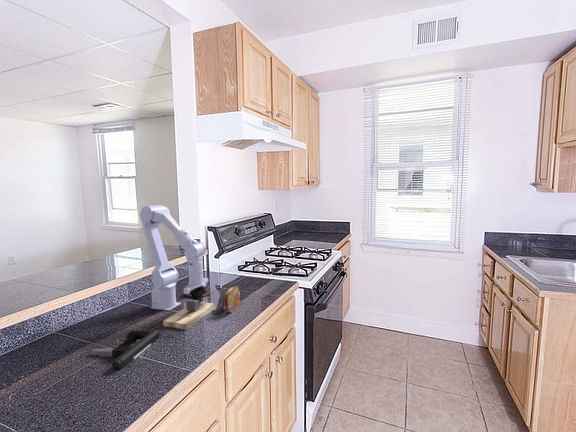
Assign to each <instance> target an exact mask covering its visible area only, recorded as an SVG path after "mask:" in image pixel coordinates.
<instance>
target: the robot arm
mask: <svg viewBox="0 0 576 432" xmlns="http://www.w3.org/2000/svg"><path fill="white" fill-rule="evenodd" d="M170 211H171V210H170V209H169V208H168V207H167V206H166V205H165V204H156V205H144V206H143V207H142V208H141V209H140V211H139V217H140V221H141V224H142V230H143V232H144V236H145V238H146V242H147V244H148V248H149V251H150V255H151V257H152V261H153V265H154V266H155V267H154V268H153V270H152V271H151V276H152V284H153V286H154V287H152V290H151V307H150V309H153V310H161V311H171V310H173V309H174V308H176V307H177V306H179V305H181V304H182V303H181V302H180V301H179V302H177V296H176V295H177V294H176V285H177V282H178V281H179V278H180V274H179V272H178V270H177V269H176V268H175V267H176V266H175V265H174V264H172V263H171V262H169V259H168V257H167V253H166V249H165V248H164V244H163V242H162V238H161V234H160V231H159V229H158V228H159V226H160V225H161V224H163V225H164V226H165V228H167V229H168V230H169V231H170V232H171V233H172V234H173V235H174V240H175V241H176V242H177V243H178V245H180V247H181V248H182V249H183V250H184V253H183V254H184V255H185V258H186V262H187V265H188V267H187V268H188V269H187V270H188V284H187V285H186V286H185V287H184V288H183V294H184V295H185V294H189V293H190V295H191V299H196V300H199V305H200V304H201V302H202V299H203V298H202V297H203V296H202V295H203V292H204V290H205V287H204V286H205V285H206V283H207V284H208V283H209V278H208V277H204V261H203V259H204V257H203V256H205V254H206V247H205V245H204V243H203V242H201V241H198V240H196V239H195V238H194V237H193V236H192V235H191V234H190V231H188V230H186V229H183V228H181V227H180V225H179V224H178V223H177V222H176V220H175V219H174V218H173V217H172V215H171V213H170ZM205 291H206V290H205Z"/></svg>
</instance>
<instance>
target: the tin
mask: <svg viewBox="0 0 576 432" xmlns="http://www.w3.org/2000/svg"><path fill="white" fill-rule="evenodd" d="M241 299H242V291H241V288H240V286H239V285H236V286H235V285H234V286H231V287H230V288H228V289H227V290H226V292H225V293H223V296H222V308H223V312H224V313H233V312H234V311H235V310H236V309H237V308H238V307H239V305H240V304H241V301H242V300H241Z"/></svg>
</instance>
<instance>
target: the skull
mask: <svg viewBox="0 0 576 432" xmlns="http://www.w3.org/2000/svg"><path fill="white" fill-rule="evenodd" d="M204 287H205V290H204V292H203V295H202V297H205V296H208V295H210V294H211V293H212V291H211V290H207V289H208V283H206V285H205V286H204ZM184 295H185V296H186V297H189V298H190V297H191V295H190V293H189V294H184ZM191 298H192V297H191Z"/></svg>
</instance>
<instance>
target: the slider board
mask: <svg viewBox="0 0 576 432" xmlns="http://www.w3.org/2000/svg"><path fill="white" fill-rule="evenodd" d="M215 309H216V303H213V302H207V301H206V302H204V301H203V302H202V301H201V304H200V308H199V309H198V310H196V311H190V310H187V307H186V306H184V307H183V308H181V309H180V310H178V311H177V312H175V313H174V314H173V313H172V315H170V316H169V317H167V318H165V319H164V320H163V327H165V328H166V327H168V328H174V329H181V330H188V329H189V328H191V327H192V326H193V325H195V324H196V323H197V322H199V320H201V319H203V318H204V317H205V316H207V315H208V314H209V313H211V312H212V311H213V310H215Z"/></svg>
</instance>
